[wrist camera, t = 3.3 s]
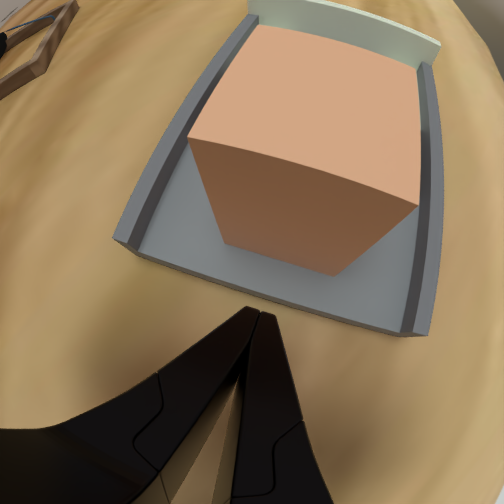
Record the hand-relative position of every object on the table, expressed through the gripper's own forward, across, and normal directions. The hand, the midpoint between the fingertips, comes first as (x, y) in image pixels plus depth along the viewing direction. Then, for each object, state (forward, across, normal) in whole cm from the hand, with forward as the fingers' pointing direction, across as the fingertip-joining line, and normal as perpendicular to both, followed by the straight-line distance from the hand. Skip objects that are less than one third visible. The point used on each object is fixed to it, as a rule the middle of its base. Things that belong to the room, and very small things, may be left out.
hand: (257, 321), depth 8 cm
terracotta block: (+9, 0, 0) cm, 9 cm away
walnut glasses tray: (+22, +50, -9) cm, 55 cm away
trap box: (+16, 0, -3) cm, 16 cm away
